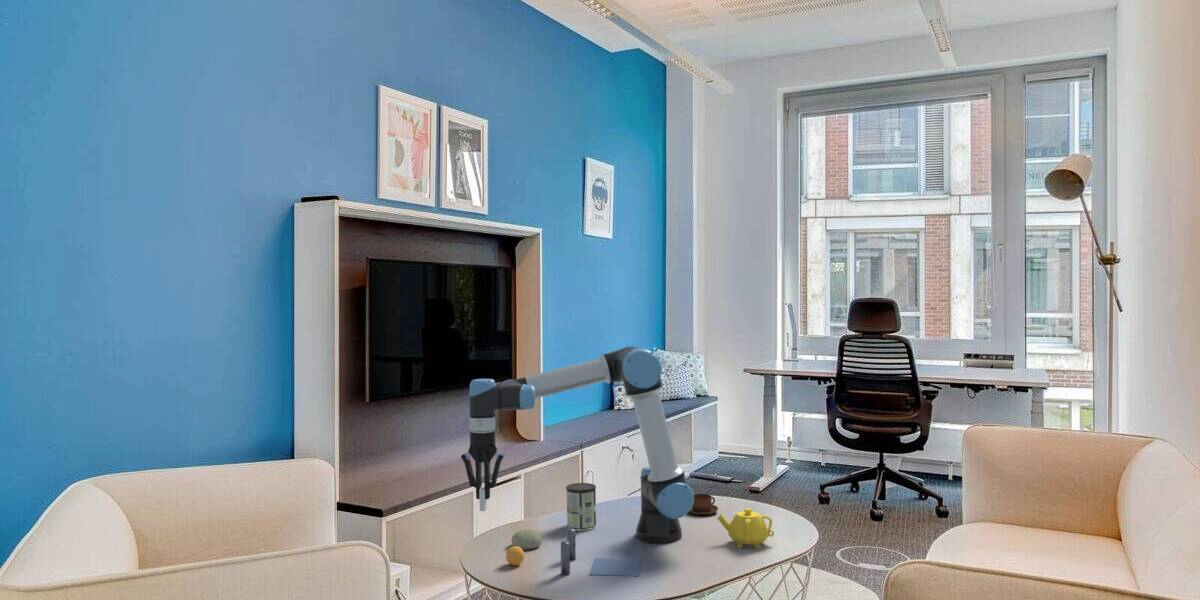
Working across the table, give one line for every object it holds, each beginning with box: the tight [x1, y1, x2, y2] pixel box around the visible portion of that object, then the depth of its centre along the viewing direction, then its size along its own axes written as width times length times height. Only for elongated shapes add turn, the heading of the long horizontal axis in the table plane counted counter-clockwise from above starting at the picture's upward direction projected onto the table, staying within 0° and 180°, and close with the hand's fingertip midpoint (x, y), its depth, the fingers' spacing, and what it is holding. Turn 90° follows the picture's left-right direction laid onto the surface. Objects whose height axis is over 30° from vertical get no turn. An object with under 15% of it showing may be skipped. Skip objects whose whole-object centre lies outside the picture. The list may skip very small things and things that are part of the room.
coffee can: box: [565, 482, 597, 532], centre depth 273 cm, size 10×10×14 cm
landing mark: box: [589, 557, 642, 577], centre depth 232 cm, size 14×14×1 cm
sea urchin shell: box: [511, 529, 543, 550], centre depth 252 cm, size 9×8×8 cm
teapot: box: [716, 507, 775, 548], centre depth 253 cm, size 14×14×11 cm
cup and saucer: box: [688, 493, 719, 516], centre depth 290 cm, size 12×12×6 cm
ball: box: [505, 545, 525, 566], centre depth 234 cm, size 6×6×6 cm
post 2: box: [566, 528, 577, 562], centre depth 239 cm, size 3×3×9 cm
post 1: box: [560, 540, 571, 576], centre depth 227 cm, size 3×3×9 cm
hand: (483, 509), depth 235 cm, fingers closed
